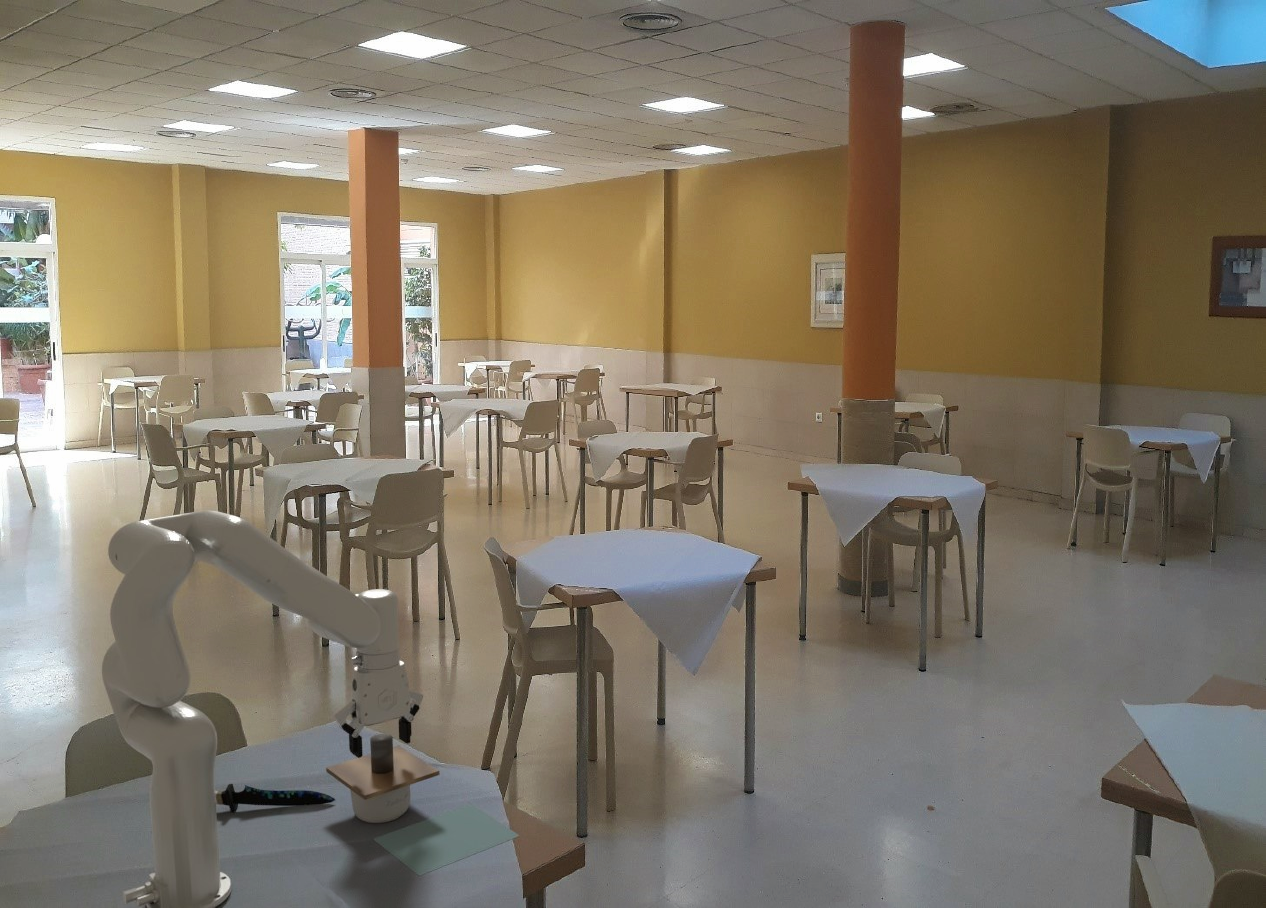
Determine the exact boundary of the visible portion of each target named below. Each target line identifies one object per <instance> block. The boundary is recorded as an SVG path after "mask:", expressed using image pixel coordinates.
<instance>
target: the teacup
mask: <svg viewBox="0 0 1266 908" xmlns="http://www.w3.org/2000/svg"><path fill="white" fill-rule="evenodd" d="M349 791H350V798H351V799H350V800H351V806H352V809H353V812H354V815H355V816H356V817H357V818H358V819H359V820H361V821H363V822H366V823H368V824H369V823H370V824H383V823H388V822H393V821H394V820H397V819H398V818H400V817H401V816H403V815H404V813H406V812H407V810H408V808H409V807H410V804H411V785H408V786H405V787H402V788H399V789H396V790H393V791H390V792H387V793H384V794H381V795H378V796H375V797H372V798H369V799H366V800H364V799H363V798H361V797H360V796H359V795H357V794H356V793H355V792H353V791H352V790H351V789H349Z"/></svg>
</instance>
